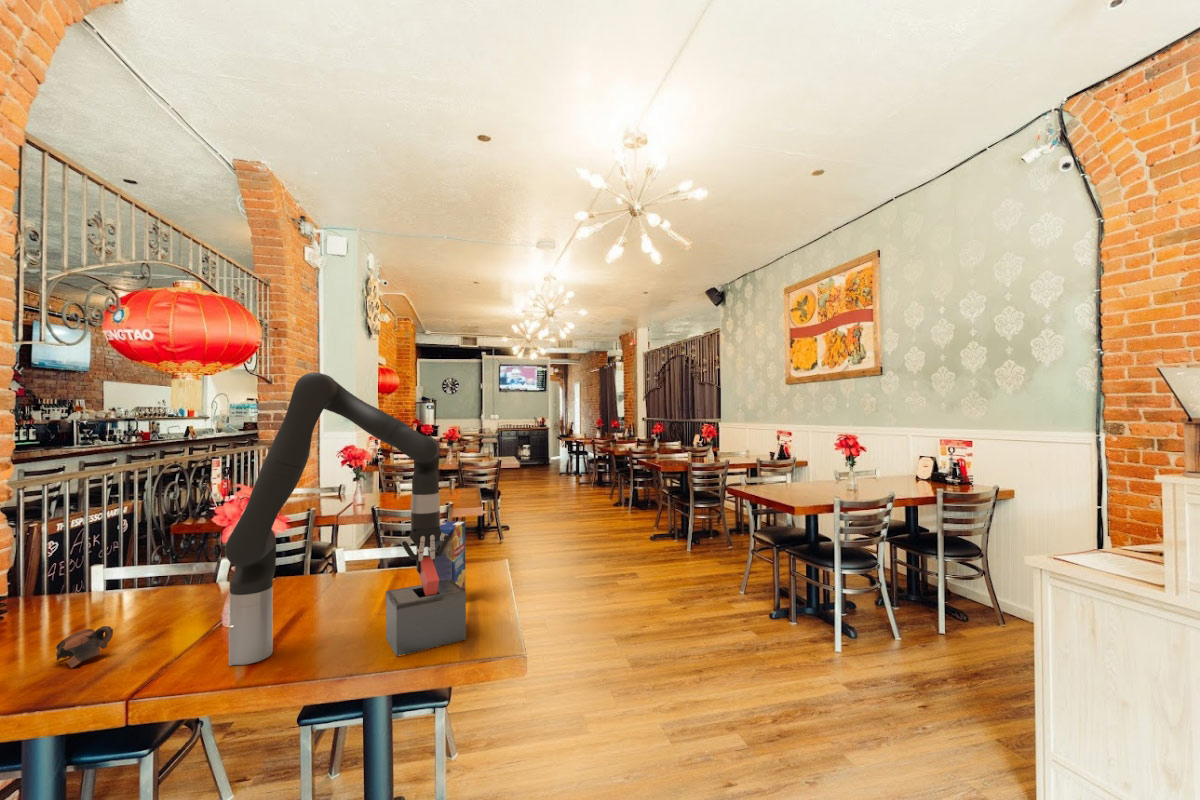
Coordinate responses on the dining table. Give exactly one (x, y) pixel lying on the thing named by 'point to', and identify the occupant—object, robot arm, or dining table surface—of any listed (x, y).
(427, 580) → the red rectangular block
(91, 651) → the brown curved piece
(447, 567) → the blue tall cardboard box
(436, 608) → the grey slotted box
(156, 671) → the dining table surface
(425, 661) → the dining table surface
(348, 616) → the dining table surface
